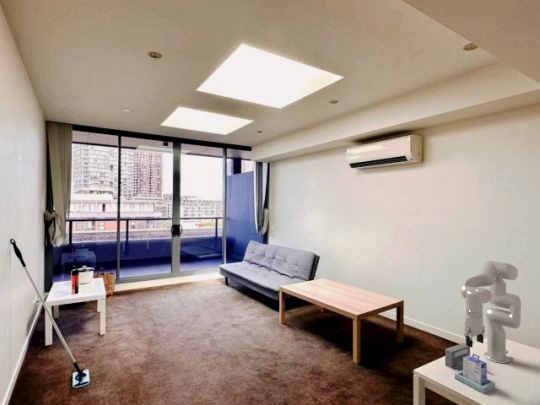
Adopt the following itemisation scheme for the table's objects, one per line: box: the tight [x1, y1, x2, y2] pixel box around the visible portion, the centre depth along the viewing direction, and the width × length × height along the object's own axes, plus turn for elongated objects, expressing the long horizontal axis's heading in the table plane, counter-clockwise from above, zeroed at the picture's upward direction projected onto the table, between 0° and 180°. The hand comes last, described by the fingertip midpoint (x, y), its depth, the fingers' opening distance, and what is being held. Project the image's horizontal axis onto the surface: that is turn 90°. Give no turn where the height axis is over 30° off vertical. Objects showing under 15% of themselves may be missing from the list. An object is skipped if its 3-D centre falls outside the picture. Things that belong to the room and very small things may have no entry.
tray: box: [454, 370, 496, 394], centre depth 168 cm, size 11×15×3 cm
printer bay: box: [444, 342, 471, 371], centre depth 183 cm, size 18×15×10 cm
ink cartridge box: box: [463, 353, 488, 386], centre depth 168 cm, size 10×6×14 cm, turn 26°
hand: (474, 344), depth 168 cm, fingers open, 9 cm apart
